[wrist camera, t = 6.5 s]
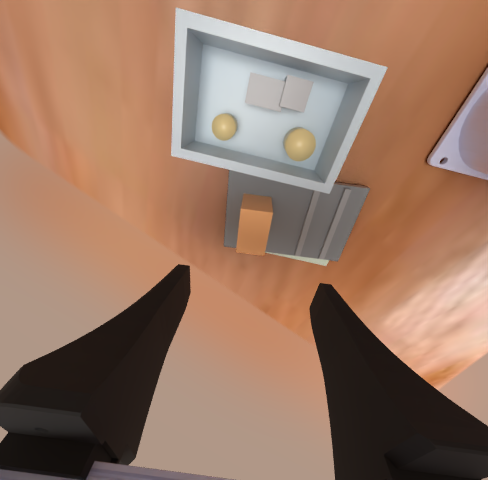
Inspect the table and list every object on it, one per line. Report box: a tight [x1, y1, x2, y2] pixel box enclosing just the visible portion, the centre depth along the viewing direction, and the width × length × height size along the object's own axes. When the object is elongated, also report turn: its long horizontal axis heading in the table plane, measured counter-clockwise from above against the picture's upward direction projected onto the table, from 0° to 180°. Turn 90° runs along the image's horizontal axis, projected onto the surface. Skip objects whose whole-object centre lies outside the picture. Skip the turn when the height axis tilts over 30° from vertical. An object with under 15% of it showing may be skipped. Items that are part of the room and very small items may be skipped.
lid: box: [224, 170, 370, 261], centre depth 18 cm, size 12×8×4 cm, turn 84°
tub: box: [171, 8, 388, 194], centre depth 14 cm, size 11×7×4 cm, turn 78°
